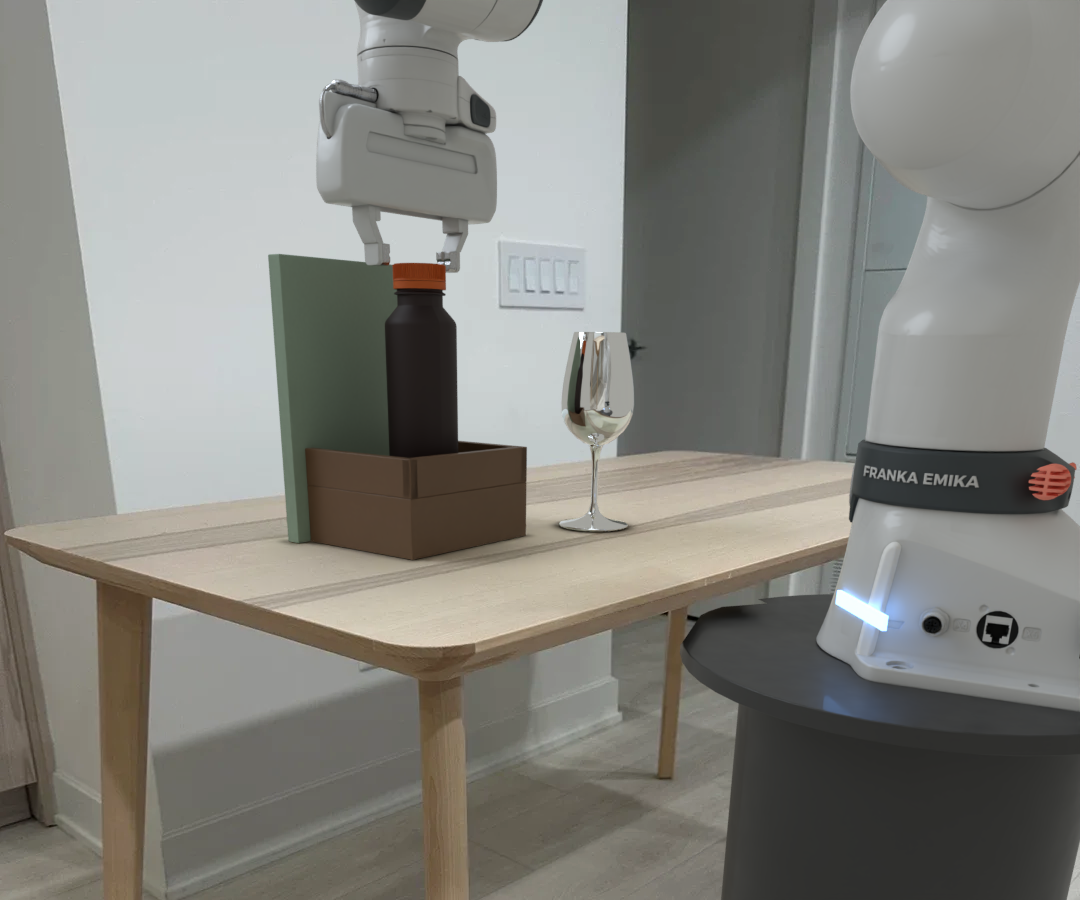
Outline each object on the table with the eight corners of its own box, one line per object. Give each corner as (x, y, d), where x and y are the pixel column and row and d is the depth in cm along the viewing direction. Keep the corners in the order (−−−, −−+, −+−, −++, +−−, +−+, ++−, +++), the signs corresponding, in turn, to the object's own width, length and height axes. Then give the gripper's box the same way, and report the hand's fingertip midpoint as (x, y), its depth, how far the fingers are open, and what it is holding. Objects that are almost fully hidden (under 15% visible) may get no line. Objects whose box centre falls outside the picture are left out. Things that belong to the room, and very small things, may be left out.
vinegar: (384, 480, 103) (375, 265, 96) (449, 478, 105) (445, 268, 98) (398, 489, 97) (390, 260, 90) (466, 487, 99) (464, 263, 92)
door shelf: (534, 533, 107) (538, 264, 98) (401, 562, 92) (390, 247, 83) (426, 517, 116) (420, 268, 107) (288, 541, 101) (267, 254, 92)
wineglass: (635, 523, 114) (644, 333, 107) (619, 534, 107) (628, 332, 100) (569, 518, 116) (573, 332, 109) (549, 529, 109) (552, 331, 102)
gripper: (346, 68, 80) (355, 259, 85) (508, 114, 95) (508, 274, 100) (293, 79, 84) (305, 262, 88) (457, 123, 99) (460, 276, 104)
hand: (414, 269), depth 94 cm, fingers open, 8 cm apart
